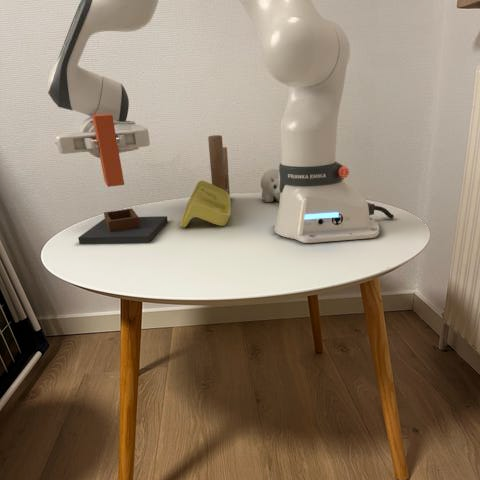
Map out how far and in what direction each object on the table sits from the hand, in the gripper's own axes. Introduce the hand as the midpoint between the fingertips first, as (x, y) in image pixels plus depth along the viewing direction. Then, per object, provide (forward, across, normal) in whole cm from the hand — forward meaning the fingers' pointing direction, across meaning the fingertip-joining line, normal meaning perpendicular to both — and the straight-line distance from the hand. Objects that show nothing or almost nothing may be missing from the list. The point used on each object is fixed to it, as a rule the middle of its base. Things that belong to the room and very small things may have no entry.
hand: (107, 143), depth 92 cm
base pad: (0, 0, +20) cm, 20 cm away
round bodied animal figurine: (-6, +42, +20) cm, 47 cm away
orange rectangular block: (-1, 0, +8) cm, 9 cm away
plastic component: (-1, +22, +20) cm, 29 cm away
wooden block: (-14, +30, +20) cm, 38 cm away
